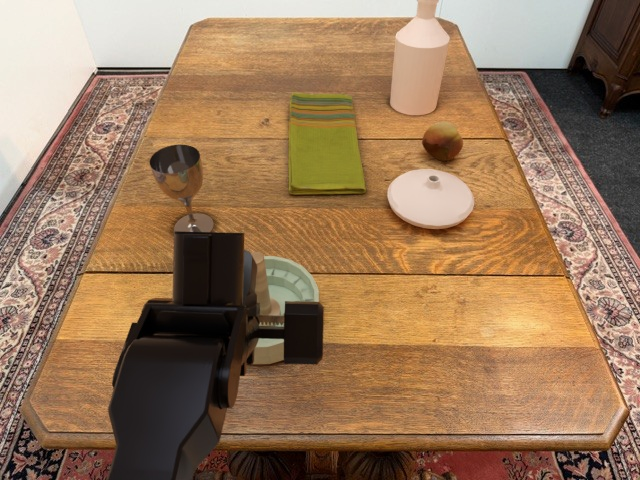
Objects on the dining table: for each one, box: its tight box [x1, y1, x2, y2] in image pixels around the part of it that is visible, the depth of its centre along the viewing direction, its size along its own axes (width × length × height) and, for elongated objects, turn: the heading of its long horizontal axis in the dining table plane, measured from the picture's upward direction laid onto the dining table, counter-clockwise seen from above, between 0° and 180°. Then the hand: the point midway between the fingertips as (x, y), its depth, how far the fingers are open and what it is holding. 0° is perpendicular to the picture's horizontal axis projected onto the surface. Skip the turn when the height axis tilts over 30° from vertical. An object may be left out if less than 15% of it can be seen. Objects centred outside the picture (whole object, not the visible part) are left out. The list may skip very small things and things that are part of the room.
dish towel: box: [288, 92, 367, 195], centre depth 103 cm, size 15×36×3 cm, turn 2°
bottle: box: [389, 0, 451, 116], centre depth 107 cm, size 12×12×25 cm
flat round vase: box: [386, 168, 475, 230], centre depth 86 cm, size 16×16×7 cm
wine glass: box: [149, 144, 215, 232], centre depth 81 cm, size 8×8×15 cm
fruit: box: [421, 120, 464, 162], centre depth 97 cm, size 8×8×8 cm
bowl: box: [252, 255, 320, 365], centre depth 70 cm, size 16×16×5 cm
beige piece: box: [250, 251, 281, 326], centre depth 66 cm, size 5×5×13 cm
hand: (248, 317), depth 58 cm, fingers open, 9 cm apart
